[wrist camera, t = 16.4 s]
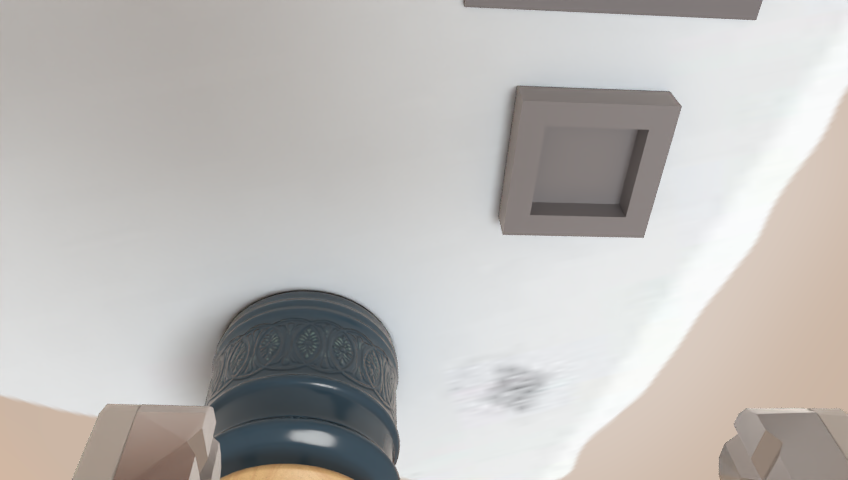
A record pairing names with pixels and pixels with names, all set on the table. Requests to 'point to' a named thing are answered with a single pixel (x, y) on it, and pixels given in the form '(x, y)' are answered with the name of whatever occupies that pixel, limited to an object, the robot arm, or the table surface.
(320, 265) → the table surface
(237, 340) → the canister
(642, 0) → the port
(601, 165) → the grey square tray
